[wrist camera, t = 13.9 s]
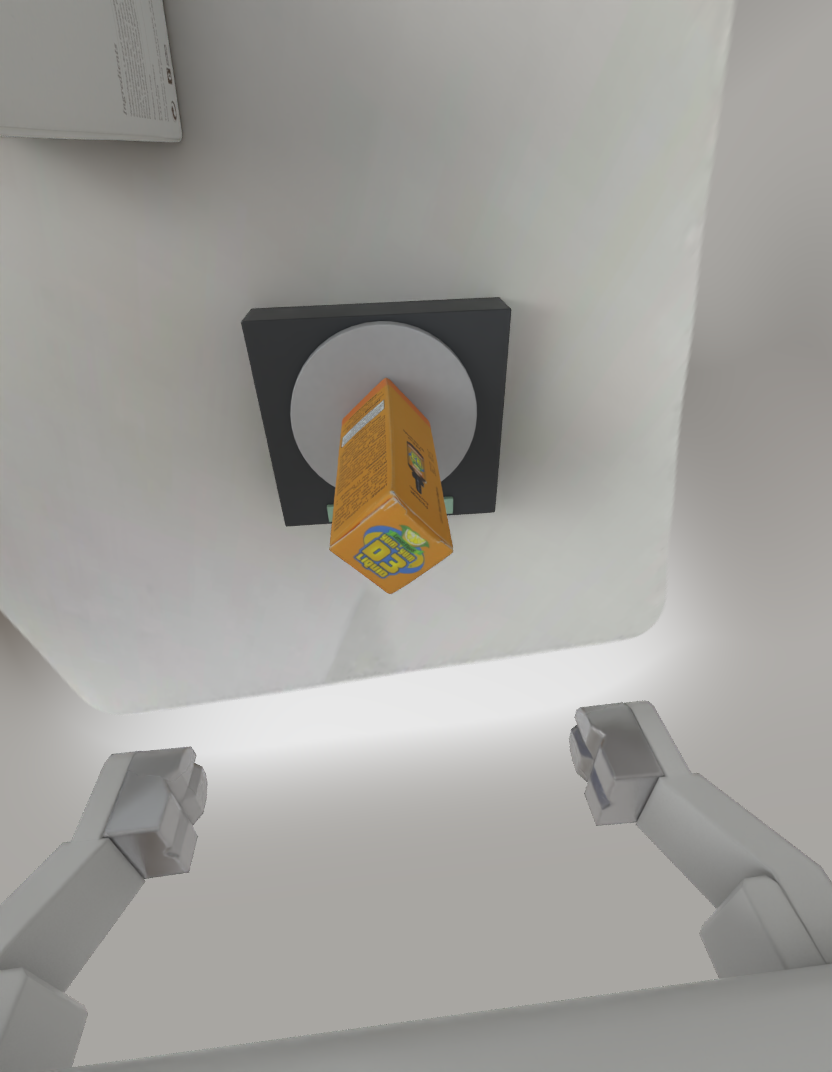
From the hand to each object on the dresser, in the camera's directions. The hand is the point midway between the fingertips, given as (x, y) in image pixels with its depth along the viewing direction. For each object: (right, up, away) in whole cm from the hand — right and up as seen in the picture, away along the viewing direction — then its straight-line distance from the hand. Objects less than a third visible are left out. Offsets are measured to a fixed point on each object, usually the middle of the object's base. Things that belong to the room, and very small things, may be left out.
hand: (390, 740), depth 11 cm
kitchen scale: (-1, +11, +17) cm, 20 cm away
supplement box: (-1, +10, +14) cm, 17 cm away
